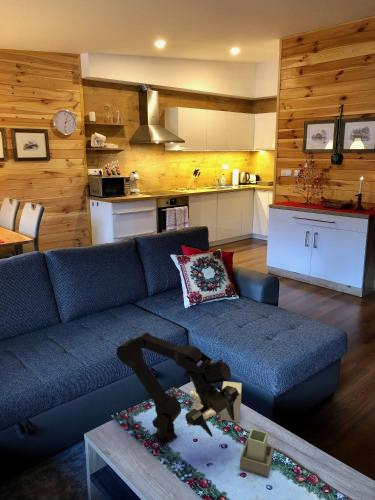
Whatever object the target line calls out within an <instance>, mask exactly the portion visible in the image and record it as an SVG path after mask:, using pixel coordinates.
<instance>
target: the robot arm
mask: <svg viewBox="0 0 375 500" xmlns="http://www.w3.org/2000/svg"><path fill="white" fill-rule="evenodd" d="M142 349H145V350H148V351H150V352H153V353H156V354H157V355H160V356H162V357H163V356H164V357H165V358H167V359H171V360H173V361H174V362H175V364H176V365H177V366H178V367H180V368H182V369H183V370H185V372H184V374H183V378H188V377H189V378H190V381H191V382H192V384H193V386H194V390H195V389H196V390H195V392H196V393H197V394H198V396H199V398H200V400H201V401H200V403H201V405H203V407H202V408H201V409H199V410H196V409H192V408H191V409H192V410H190V411H188V412H186V414H185V418H184V419H185V421H186V423H187V424H190V425H191V426H193V427H195V426H198V427H201V429H202V430H204V431H205V432H206V433H207V434H208V435H209V436H210V437H211V438H212V437H213V436H214V435H213V433H212V431H211V429H210V428H209V426H208V424H207V419H203V418H204V417H203V414H205V413H206V412H207V411H209V410H214V411H215V413H216V414H219V413H220V414H221V411H222V410H224V409H225V408H226V409H227V411H228V414H229V416H230V418H231V419H232V420H233V421H234V402H235V400H236V399H237V396H238V395H239V392H238V390H237V389H236V388H235V387H231V386H228V385H227V386H226V387H225V388H223V389H222V388H221V389H220V390H218V389H217V387H216V386H215V384H218V383H220V384H221V383H223V382H225V381H226V382H230V381H231V377H232V371H231V368H230V366H229V365H228V364H227V362H224V360H223V359H222V358H221V359H217V360H215V361H213V359H212V358H211V357H210V356H208V355H207V354H205V353H204V352H203V351H201V349H200V348H199V347H197V346H193V345H187V344H186V345H179V344H176V343H172V342H170V341H168V340H164V339H162V338H160V337H157V336H154V335H152V334H150V333H149V332H143V333H142V334H140V335H138V336H136V337H135V338H129V339H127V340H126V341H124V342H123V343H121V344H120V345H119V346H118V347H117V348H116V353H115V355H116V357H117V358H118V359H119V360H120V362H121V363H122V364H123V365H124V366H126V367H128V368H130V369H132V370H133V372H134V374H135V376H136V378H137V379H138V380H139V381H140V383H141V385H142V386H143V388H144V389H145V390H146V392H147V393H148V395H149V397H150V399H152V401H153V403H154V407H155V409H154V410H155V413H156V416H155V418H154V419H153V420H152V421H151V423H152V425H153V427H154V428H155V429H156V431H155V433H153V435H152V436H153V437H154V438H155V439H156V440H157V441H158V442H159V443H160V444H161V445H162V446H165V445H166V444H168V443H170V442H172V441H174V440H176V439H178V435H177V434H176V432H175V424H174V422H175V421H176V419H177V418H178V417H179V416H180V414H181V413H182V406H181V402H180V401H179V400H178V397H176V396H177V395H175V394H172V395H170V394H167V392H166V391H165V390H164V388H163V387H162V385H161V384H160V383H159V381H158V379H157V378H156V376H155V375H154V373H153V372H152V370H151V369H150V368H149V366H148V364H147V363H146V361H145V360H144V353H143V350H142Z"/></svg>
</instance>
